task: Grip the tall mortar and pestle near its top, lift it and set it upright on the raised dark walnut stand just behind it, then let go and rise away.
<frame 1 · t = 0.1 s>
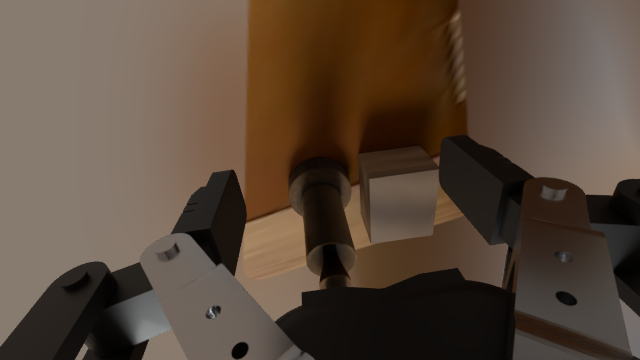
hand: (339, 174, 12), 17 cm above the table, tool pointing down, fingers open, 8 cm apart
walnut stand: (388, 181, 33), on the table
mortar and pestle: (318, 182, 33), on the table
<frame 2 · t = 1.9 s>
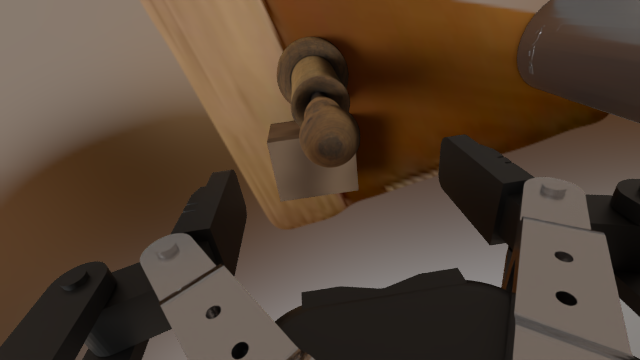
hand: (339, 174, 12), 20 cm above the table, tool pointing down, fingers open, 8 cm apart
walnut stand: (312, 146, 33), on the table
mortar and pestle: (311, 72, 29), on the table
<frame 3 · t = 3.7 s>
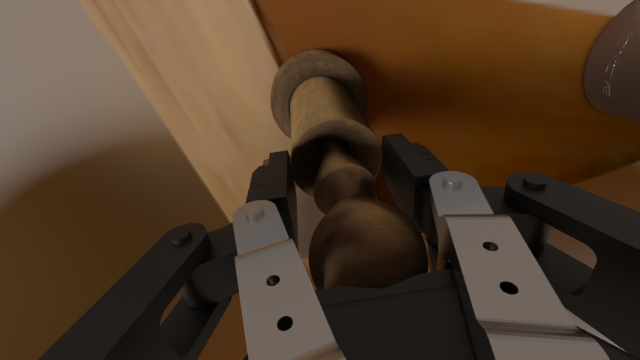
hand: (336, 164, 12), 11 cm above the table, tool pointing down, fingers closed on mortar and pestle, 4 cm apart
walnut stand: (317, 186, 26), on the table
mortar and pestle: (316, 95, 22), on the table, touching gripper
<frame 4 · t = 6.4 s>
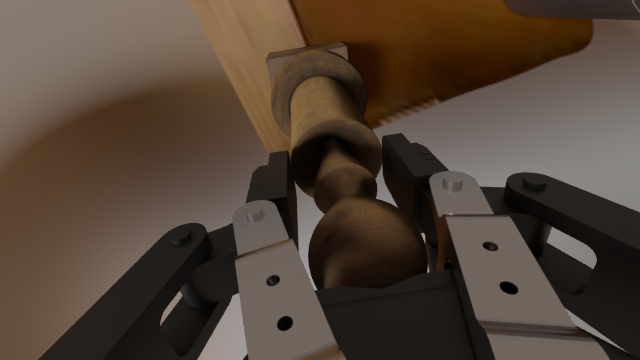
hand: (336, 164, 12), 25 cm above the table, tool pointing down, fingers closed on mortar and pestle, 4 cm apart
walnut stand: (309, 77, 35), on the table
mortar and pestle: (316, 95, 22), point 14 cm above the table, touching gripper
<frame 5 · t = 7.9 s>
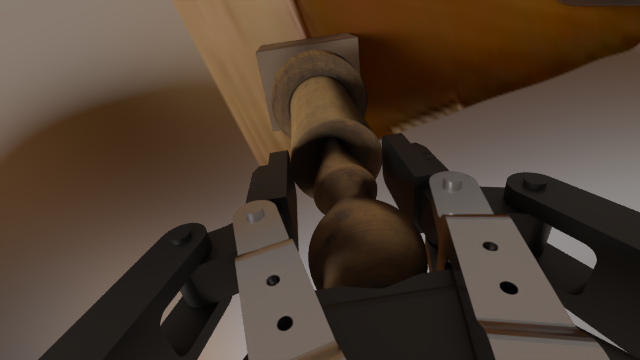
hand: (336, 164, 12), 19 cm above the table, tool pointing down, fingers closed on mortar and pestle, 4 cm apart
walnut stand: (309, 75, 29), on the table
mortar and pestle: (316, 95, 22), point 8 cm above the table, touching gripper
when the fingers open (18 cm above the table, at t = 9.1 s): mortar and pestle drops 1 cm, resting on walnut stand.
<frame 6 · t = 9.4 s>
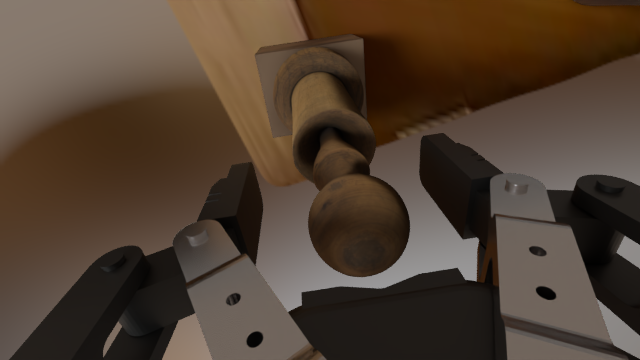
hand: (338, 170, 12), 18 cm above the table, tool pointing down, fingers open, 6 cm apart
walnut stand: (311, 78, 28), on the table
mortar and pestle: (316, 90, 24), point 5 cm above the table, touching walnut stand
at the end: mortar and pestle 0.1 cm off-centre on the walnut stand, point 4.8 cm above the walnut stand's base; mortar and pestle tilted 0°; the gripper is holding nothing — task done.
